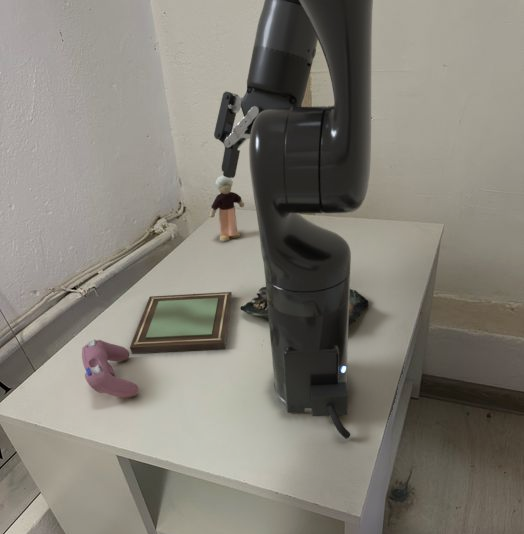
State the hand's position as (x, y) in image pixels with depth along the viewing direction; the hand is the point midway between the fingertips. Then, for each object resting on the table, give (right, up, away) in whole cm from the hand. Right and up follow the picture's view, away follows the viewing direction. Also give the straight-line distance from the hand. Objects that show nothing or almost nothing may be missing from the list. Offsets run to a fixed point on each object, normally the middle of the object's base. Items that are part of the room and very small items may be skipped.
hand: (254, 185), depth 67 cm
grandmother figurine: (-5, +1, +34) cm, 34 cm away
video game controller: (-19, -27, 0) cm, 33 cm away
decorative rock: (+8, -17, +10) cm, 21 cm away
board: (-11, -19, +10) cm, 24 cm away
